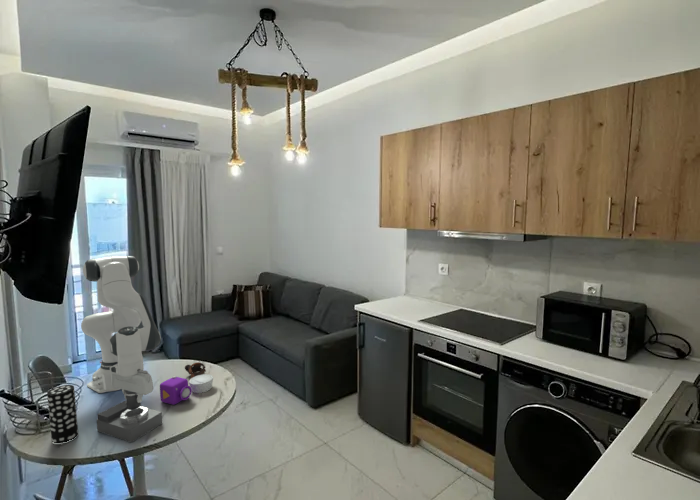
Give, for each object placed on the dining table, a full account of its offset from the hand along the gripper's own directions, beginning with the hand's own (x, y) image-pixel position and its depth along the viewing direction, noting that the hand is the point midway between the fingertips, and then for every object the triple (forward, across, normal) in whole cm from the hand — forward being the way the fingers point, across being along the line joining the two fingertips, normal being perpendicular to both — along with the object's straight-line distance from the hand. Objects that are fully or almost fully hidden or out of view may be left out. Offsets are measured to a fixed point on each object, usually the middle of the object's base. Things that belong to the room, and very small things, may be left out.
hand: (133, 400), depth 151 cm
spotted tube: (+12, +20, +15) cm, 28 cm away
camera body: (+12, +3, 0) cm, 13 cm away
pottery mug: (+12, +16, -48) cm, 52 cm away
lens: (+3, 0, 0) cm, 3 cm away
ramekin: (+12, +1, -37) cm, 39 cm away
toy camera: (+12, +3, -24) cm, 27 cm away
